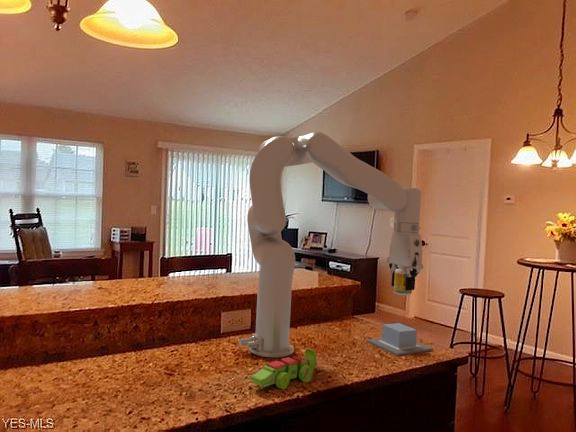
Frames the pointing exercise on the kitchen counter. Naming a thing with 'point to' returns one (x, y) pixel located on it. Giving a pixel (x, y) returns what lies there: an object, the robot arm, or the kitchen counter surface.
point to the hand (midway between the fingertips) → (402, 287)
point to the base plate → (399, 351)
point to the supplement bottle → (401, 281)
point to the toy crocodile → (286, 370)
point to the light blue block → (399, 335)
